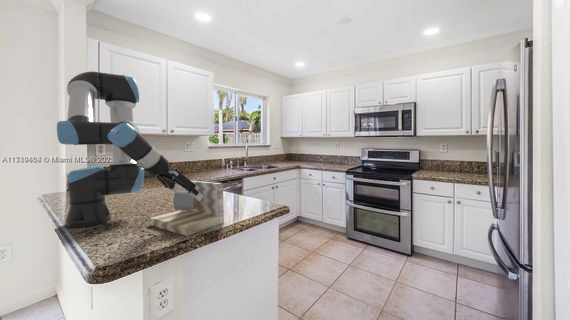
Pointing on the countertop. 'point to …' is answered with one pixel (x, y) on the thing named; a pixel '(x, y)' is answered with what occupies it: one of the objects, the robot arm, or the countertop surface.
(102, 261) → the countertop surface
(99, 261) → the countertop surface
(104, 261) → the countertop surface
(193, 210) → the wall shelf
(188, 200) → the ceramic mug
